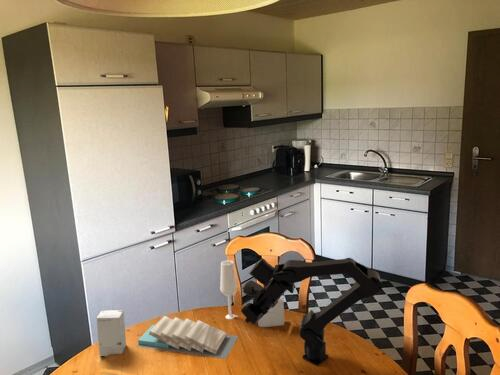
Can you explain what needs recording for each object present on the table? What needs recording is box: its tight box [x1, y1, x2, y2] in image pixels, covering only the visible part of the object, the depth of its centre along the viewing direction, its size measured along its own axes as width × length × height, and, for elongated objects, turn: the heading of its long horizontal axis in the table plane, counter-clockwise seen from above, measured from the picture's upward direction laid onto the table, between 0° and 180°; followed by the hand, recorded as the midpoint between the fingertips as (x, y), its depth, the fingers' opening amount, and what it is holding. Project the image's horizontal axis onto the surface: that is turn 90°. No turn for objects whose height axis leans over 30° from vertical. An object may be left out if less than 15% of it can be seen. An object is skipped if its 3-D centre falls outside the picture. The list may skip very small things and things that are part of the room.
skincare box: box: [96, 309, 127, 358], centre depth 146 cm, size 8×6×15 cm
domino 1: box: [137, 324, 170, 348], centre depth 153 cm, size 2×11×12 cm
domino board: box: [136, 334, 239, 359], centre depth 151 cm, size 34×14×1 cm, turn 74°
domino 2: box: [149, 315, 181, 349], centre depth 152 cm, size 2×11×12 cm
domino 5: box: [184, 319, 228, 354], centre depth 148 cm, size 2×11×12 cm
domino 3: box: [160, 316, 192, 351], centre depth 150 cm, size 2×11×12 cm
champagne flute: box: [219, 259, 239, 320], centre depth 164 cm, size 7×7×24 cm
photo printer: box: [257, 296, 285, 328], centre depth 159 cm, size 10×4×12 cm, turn 96°
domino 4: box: [172, 318, 204, 352], centre depth 149 cm, size 2×11×12 cm
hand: (246, 321), depth 143 cm, fingers closed
